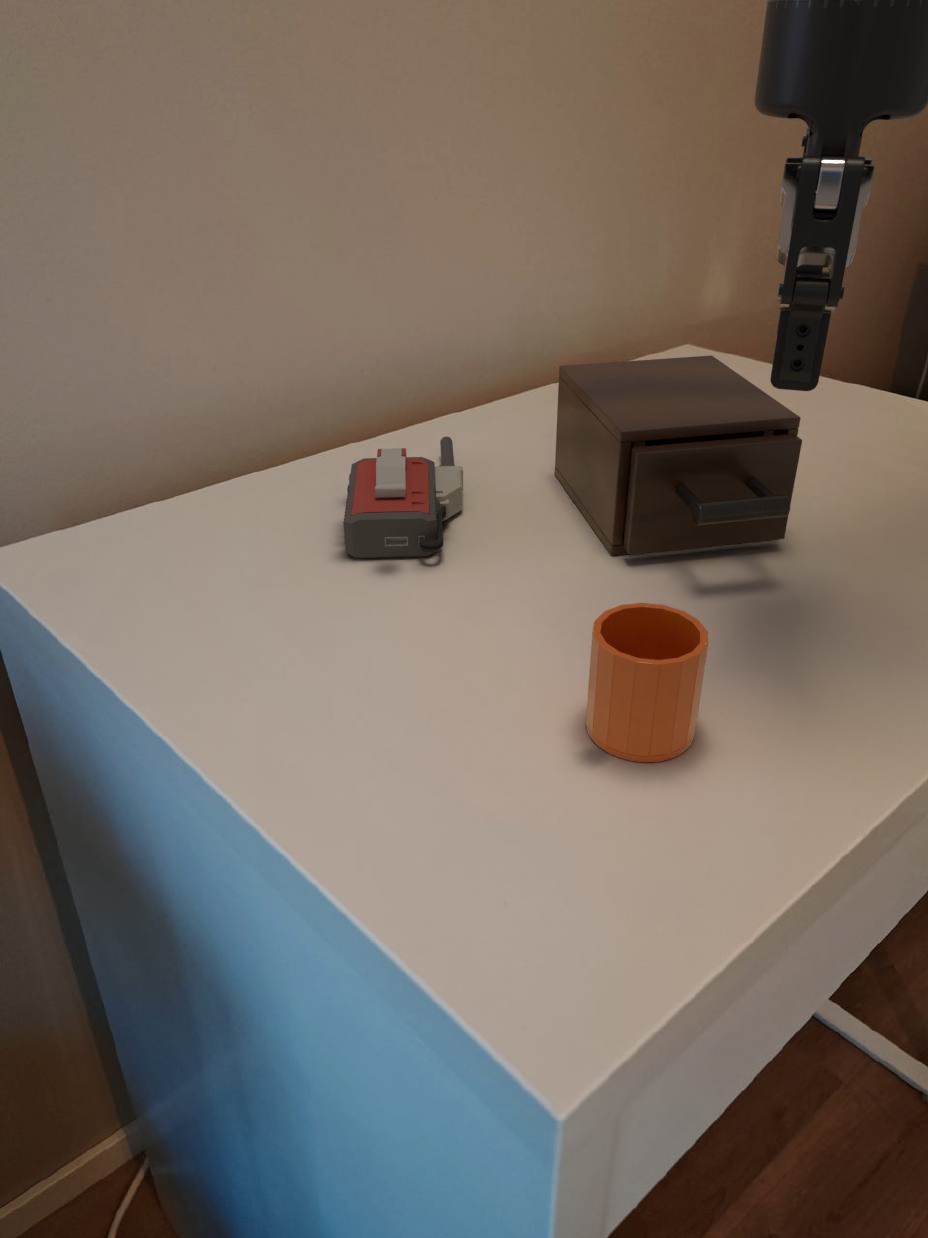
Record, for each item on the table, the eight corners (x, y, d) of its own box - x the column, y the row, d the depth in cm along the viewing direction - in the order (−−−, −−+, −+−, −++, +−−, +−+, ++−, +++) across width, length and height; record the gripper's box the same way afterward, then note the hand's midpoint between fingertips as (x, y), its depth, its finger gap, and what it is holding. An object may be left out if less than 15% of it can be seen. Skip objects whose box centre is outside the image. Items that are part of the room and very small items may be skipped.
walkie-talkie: (470, 565, 66) (459, 454, 83) (469, 506, 64) (458, 405, 81) (341, 568, 66) (356, 457, 83) (336, 509, 64) (353, 407, 81)
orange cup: (670, 691, 54) (682, 597, 50) (711, 754, 49) (727, 656, 46) (573, 703, 53) (579, 609, 50) (605, 769, 48) (614, 670, 45)
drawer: (816, 569, 63) (838, 465, 60) (652, 587, 62) (663, 481, 58) (706, 465, 78) (718, 377, 75) (571, 477, 77) (576, 387, 73)
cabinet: (779, 539, 69) (801, 417, 64) (611, 556, 67) (621, 431, 62) (698, 462, 81) (712, 354, 77) (554, 474, 79) (559, 365, 75)
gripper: (973, -15, 35) (877, 415, 44) (936, -7, 47) (866, 332, 55) (759, -11, 37) (708, 400, 45) (774, -4, 48) (731, 323, 57)
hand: (794, 362), depth 50 cm, fingers open, 8 cm apart
